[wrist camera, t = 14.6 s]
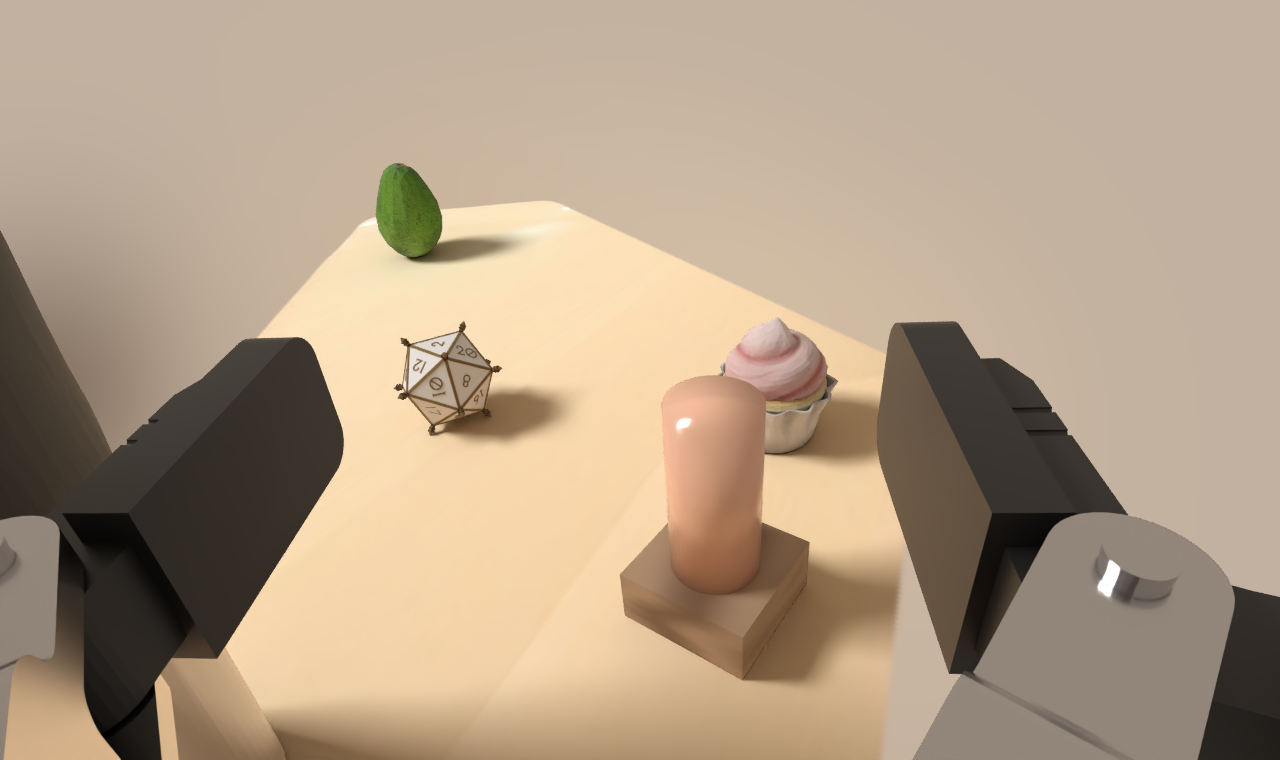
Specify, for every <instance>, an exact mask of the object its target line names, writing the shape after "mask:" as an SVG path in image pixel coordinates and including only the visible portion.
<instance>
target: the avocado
mask: <svg viewBox="0 0 1280 760" xmlns="http://www.w3.org/2000/svg"><path fill="white" fill-rule="evenodd" d="M376 218H377V223H378V228H379V231H380V233H381V235H382V236H383V238H384V239H385V241H386V243H387V244H388V245H389V246H391V247H392V248H393V249H394V250H395V251H396V252H398V253H400V254H402V255H404V256H408V257H418V256H422V255H425V254H427V253H428V252H429V251H430V250H431V249H432V248H433V247H434V246H435V245H436V244H437V242H438V240H439V238H440V236H441V232H442V215H441V212H440V209H439V206H438V202H437V200H436V199H435V197H434V195H433V194H432V192H431V191H430V189H429V188H428V186H427V185H426V184H425V182H424V181H423V180H422V178H421V177H420V176H419V174H418V173H417V172H416V171H415V170H413V169H412V168H411V167H407V166H406V165H404V164H400V163H394V164H392V165H390V166H388V167H387V168H386V169H385V170H384V171H383V174H382V177H381V180H380V185H379V192H378V197H377V207H376Z"/></svg>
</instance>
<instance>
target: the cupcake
mask: <svg viewBox="0 0 1280 760" xmlns="http://www.w3.org/2000/svg"><path fill="white" fill-rule="evenodd" d="M827 368H828V366H827V364H826V361H825V357H824V356H823V354H822V353H821V352H820V350H819V349H818V348H817V347H816V345H815V344H814V343H813V342H812V341H811V340H810V339H809V338H808V337H807V336H806V335H804V334H802V333H800V332H797V331H795V330H792V329H788V327H787V326H786V325H785V324H784V323H783V322H782V321H781V320H780V319H779V318H778V317H777V318H775V319H773V320H772V321H770V322H767V323H764V324H761V325H757V326H755V327H753V328H751V329H750V330H749V331H748V332H747V333H746V335H745V336H744V338H743V339H742V341H741V343H739V344H738V345H737V346H736V347H735V348H734V349H733V350H732V351H731V352H730V354H729V356H728V358H727V360H726V362H725V363H722V364H721V370H722V373H720V374H718V375H717V376H728V377H733V378H737V379H740V380H743V381H746V382H748V383H750V384H752V385H753V386H755V387H756V388H757V389H758V390H759V391H760V392H761V393H762V394H763V396H764V398H765V400H766V422H765V449H764V452H765V453H785V452H789V451H793V450H795V449H798V448H800V447H802V446H803V445H804V444H805V443H806V442H807V441H808V440H809V439H810V438H811V436H812V435H813V433H814V430H815V427H816V425H817V422H818V418H819V415H820V413H821V411H822V410H823V409H824V407H825V406H826V405H827V403H828V402H829V401H830V399H831V393H830V392H831V391H832V390H833V388H834V387H835V385H836V384H837V382H838V381H837V380H836V379H835V378H833V377H831V376H829V375H828V374H827Z"/></svg>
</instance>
